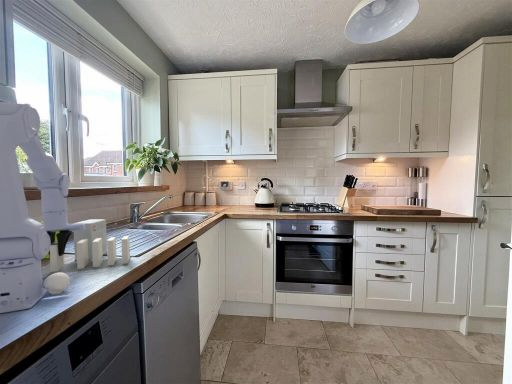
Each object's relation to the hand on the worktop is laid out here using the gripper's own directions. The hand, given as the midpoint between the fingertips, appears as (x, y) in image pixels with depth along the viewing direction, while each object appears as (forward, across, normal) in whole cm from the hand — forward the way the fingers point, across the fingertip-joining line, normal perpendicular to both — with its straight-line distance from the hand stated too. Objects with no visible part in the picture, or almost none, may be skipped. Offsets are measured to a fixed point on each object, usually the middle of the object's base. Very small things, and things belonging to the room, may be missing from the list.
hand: (57, 255), depth 70 cm
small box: (+5, -6, -11) cm, 13 cm away
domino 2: (+4, -6, 0) cm, 8 cm away
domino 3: (+4, -10, 0) cm, 11 cm away
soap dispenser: (+5, +7, -17) cm, 19 cm away
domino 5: (+4, -18, 0) cm, 19 cm away
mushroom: (+5, -6, +18) cm, 20 cm away
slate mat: (+5, -8, 0) cm, 9 cm away
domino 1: (+4, 0, 0) cm, 4 cm away
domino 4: (+4, -14, 0) cm, 15 cm away
